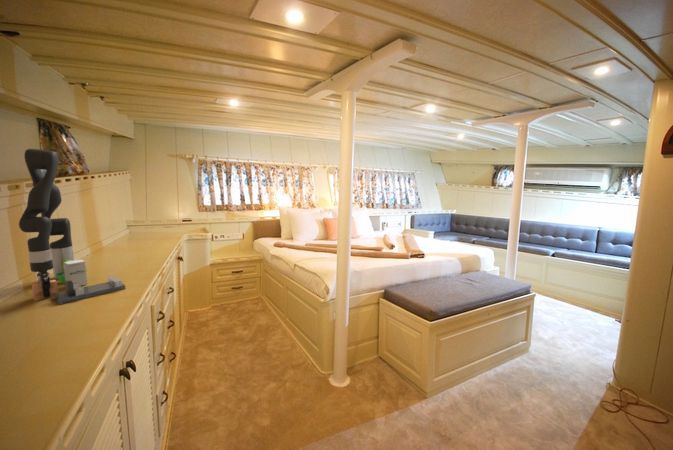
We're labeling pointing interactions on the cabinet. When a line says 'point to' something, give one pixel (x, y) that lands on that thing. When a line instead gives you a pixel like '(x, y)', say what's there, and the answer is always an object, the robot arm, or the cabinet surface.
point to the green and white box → (62, 274)
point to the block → (39, 292)
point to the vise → (91, 290)
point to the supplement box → (75, 272)
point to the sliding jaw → (73, 288)
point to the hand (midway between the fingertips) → (46, 295)
